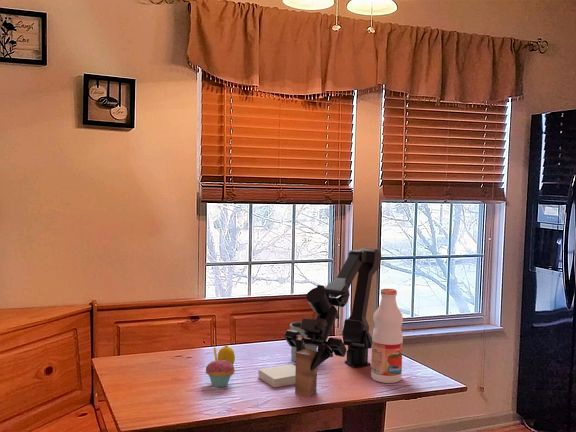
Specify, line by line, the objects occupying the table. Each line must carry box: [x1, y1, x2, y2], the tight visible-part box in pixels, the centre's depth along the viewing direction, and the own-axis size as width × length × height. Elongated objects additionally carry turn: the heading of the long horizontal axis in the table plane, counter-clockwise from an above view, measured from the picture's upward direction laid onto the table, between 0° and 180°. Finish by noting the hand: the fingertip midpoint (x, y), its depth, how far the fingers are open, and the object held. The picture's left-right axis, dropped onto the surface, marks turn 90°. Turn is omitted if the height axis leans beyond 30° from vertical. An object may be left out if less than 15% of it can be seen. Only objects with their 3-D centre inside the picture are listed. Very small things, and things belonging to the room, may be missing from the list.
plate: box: [258, 363, 296, 388], centre depth 180 cm, size 12×10×2 cm
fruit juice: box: [370, 288, 404, 384], centre depth 182 cm, size 9×9×28 cm
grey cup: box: [289, 320, 318, 363], centre depth 201 cm, size 10×10×12 cm
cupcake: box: [205, 345, 236, 388], centre depth 174 cm, size 9×8×12 cm
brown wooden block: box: [294, 349, 318, 398], centre depth 168 cm, size 4×4×12 cm
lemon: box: [217, 345, 236, 365], centre depth 187 cm, size 6×6×8 cm
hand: (303, 368), depth 167 cm, fingers closed on brown wooden block, 4 cm apart
